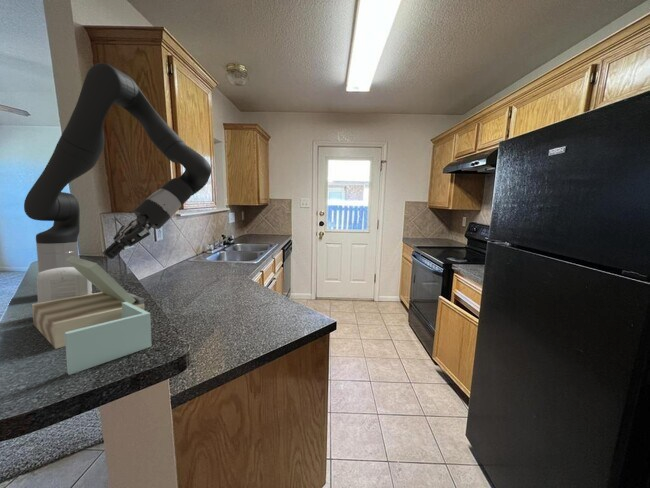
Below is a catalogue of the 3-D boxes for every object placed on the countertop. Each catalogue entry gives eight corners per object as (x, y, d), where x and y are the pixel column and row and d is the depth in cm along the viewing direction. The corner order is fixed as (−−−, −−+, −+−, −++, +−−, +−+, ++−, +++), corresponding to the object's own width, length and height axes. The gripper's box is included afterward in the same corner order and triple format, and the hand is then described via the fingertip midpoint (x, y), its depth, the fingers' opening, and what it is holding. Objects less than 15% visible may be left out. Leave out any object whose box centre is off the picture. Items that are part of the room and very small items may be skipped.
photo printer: (94, 308, 73) (91, 264, 72) (91, 312, 70) (88, 267, 69) (42, 314, 68) (38, 267, 66) (36, 320, 64) (32, 270, 63)
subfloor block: (33, 324, 61) (31, 299, 61) (113, 307, 74) (112, 286, 73) (55, 349, 50) (53, 317, 50) (145, 323, 63) (144, 298, 62)
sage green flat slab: (65, 259, 64) (71, 255, 65) (102, 292, 71) (108, 288, 72) (89, 268, 54) (96, 263, 55) (130, 305, 61) (136, 300, 62)
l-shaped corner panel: (127, 334, 59) (126, 301, 58) (151, 349, 52) (150, 313, 51) (52, 355, 49) (49, 317, 48) (69, 378, 42) (66, 334, 42)
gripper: (137, 199, 74) (83, 244, 65) (159, 197, 67) (102, 248, 58) (158, 218, 79) (110, 262, 70) (181, 218, 72) (131, 268, 63)
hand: (106, 256), depth 64 cm, fingers closed
